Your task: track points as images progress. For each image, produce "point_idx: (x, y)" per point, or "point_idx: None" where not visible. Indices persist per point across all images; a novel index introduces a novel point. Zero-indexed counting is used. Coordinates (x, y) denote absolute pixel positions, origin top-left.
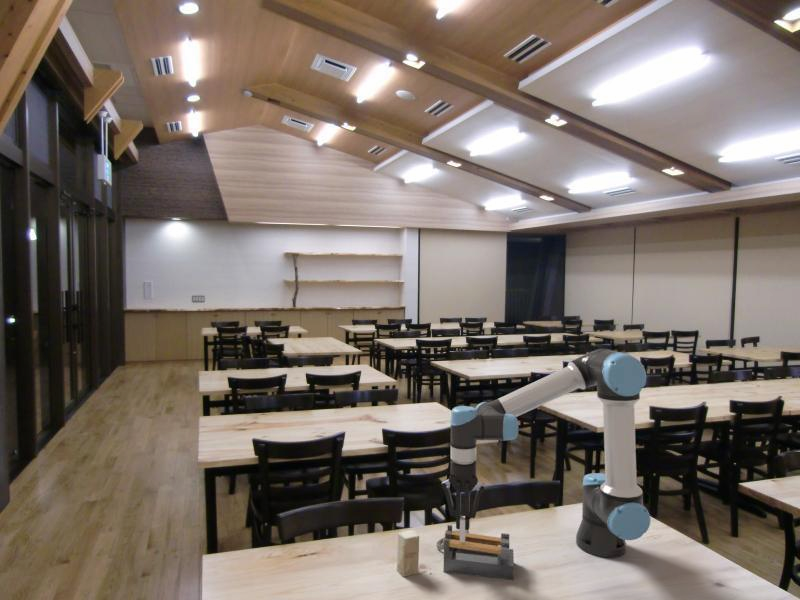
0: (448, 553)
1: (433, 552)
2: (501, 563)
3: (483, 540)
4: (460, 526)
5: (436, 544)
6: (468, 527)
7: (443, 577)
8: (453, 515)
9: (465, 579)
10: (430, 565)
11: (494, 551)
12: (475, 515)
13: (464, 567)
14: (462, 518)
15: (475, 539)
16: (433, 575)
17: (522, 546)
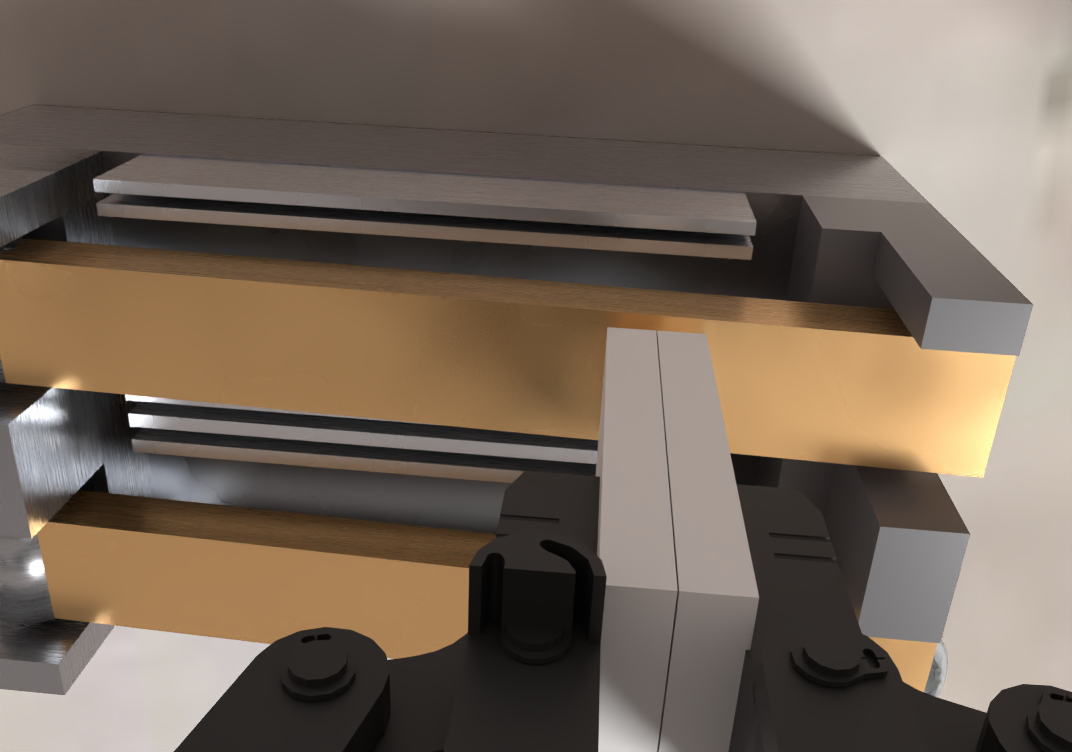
0: (876, 220)
1: (972, 557)
2: (79, 152)
3: (323, 538)
4: (719, 485)
5: (945, 661)
6: (519, 501)
7: (892, 18)
8: (995, 702)
9: (601, 21)
10: (1041, 281)
11: (126, 259)
12: (237, 689)
13: (614, 161)
14: (676, 669)
15: (444, 550)
16: (1027, 45)
17: (54, 743)
